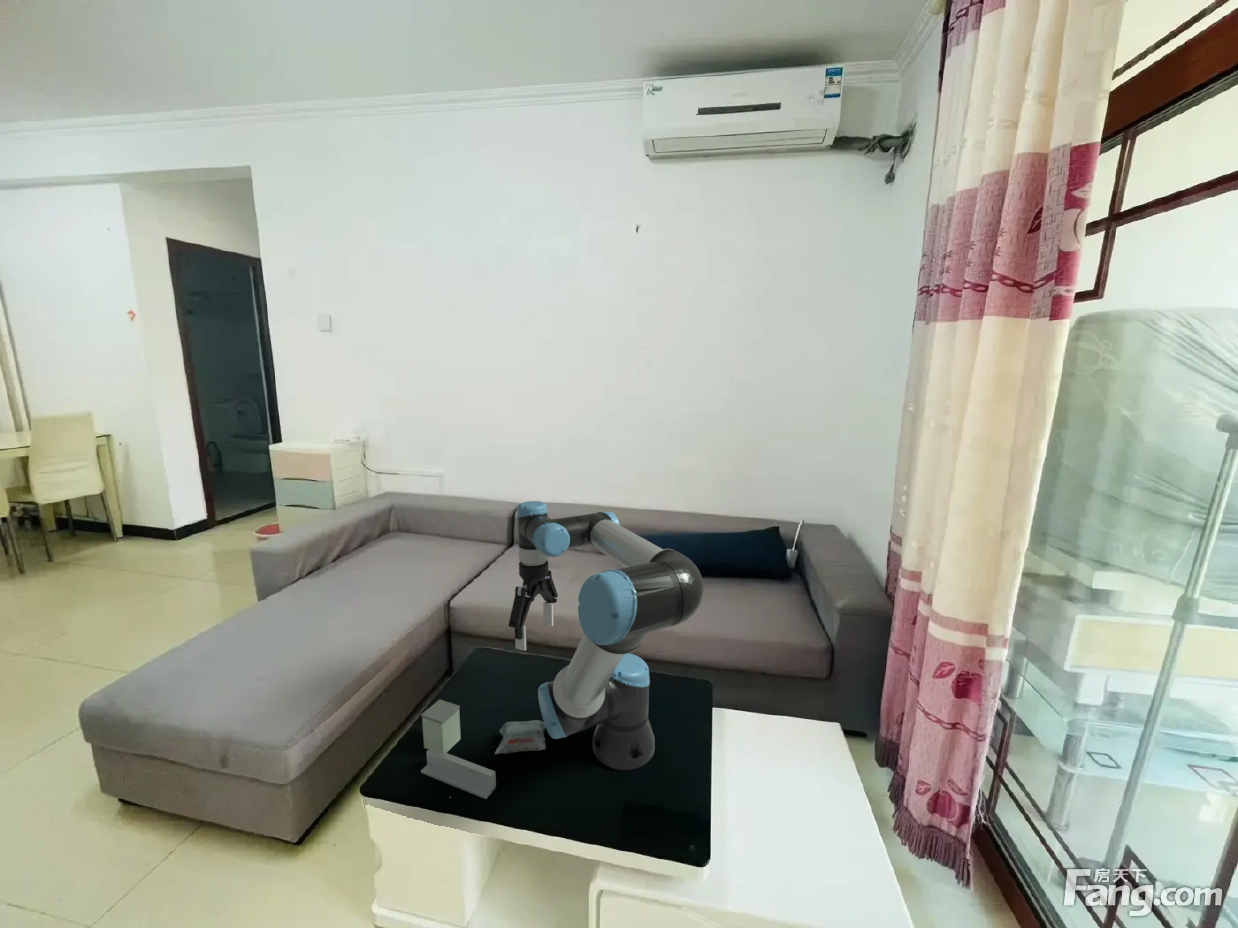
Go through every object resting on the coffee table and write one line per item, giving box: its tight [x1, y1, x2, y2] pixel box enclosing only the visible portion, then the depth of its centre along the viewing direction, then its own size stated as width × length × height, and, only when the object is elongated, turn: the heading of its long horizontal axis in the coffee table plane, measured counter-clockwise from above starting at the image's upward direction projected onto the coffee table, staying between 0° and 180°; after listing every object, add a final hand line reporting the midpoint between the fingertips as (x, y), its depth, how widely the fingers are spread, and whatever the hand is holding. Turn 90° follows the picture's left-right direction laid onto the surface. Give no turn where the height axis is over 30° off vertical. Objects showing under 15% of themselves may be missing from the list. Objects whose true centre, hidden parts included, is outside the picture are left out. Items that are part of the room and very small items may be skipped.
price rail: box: [420, 747, 497, 800], centre depth 114 cm, size 18×4×4 cm, turn 67°
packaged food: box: [494, 719, 547, 755], centre depth 124 cm, size 9×12×5 cm
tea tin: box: [420, 699, 462, 753], centre depth 124 cm, size 6×6×9 cm
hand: (535, 636), depth 136 cm, fingers open, 13 cm apart
